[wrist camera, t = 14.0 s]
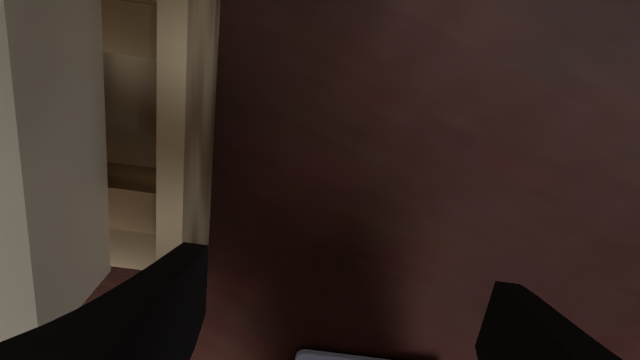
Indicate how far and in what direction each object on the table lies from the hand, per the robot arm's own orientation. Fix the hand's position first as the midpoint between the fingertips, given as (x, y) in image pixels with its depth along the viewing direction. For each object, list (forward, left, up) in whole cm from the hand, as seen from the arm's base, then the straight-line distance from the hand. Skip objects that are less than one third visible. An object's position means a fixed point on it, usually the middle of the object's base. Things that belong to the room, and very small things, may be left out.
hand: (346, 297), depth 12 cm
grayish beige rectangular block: (+2, +11, -7) cm, 13 cm away
